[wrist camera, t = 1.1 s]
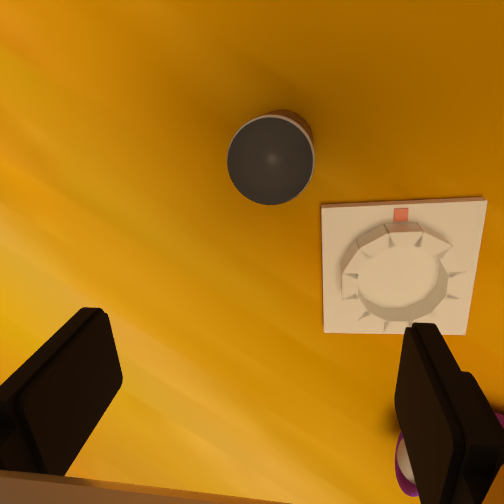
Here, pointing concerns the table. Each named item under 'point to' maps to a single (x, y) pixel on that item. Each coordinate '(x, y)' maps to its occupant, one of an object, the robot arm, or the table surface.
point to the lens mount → (400, 264)
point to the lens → (272, 157)
